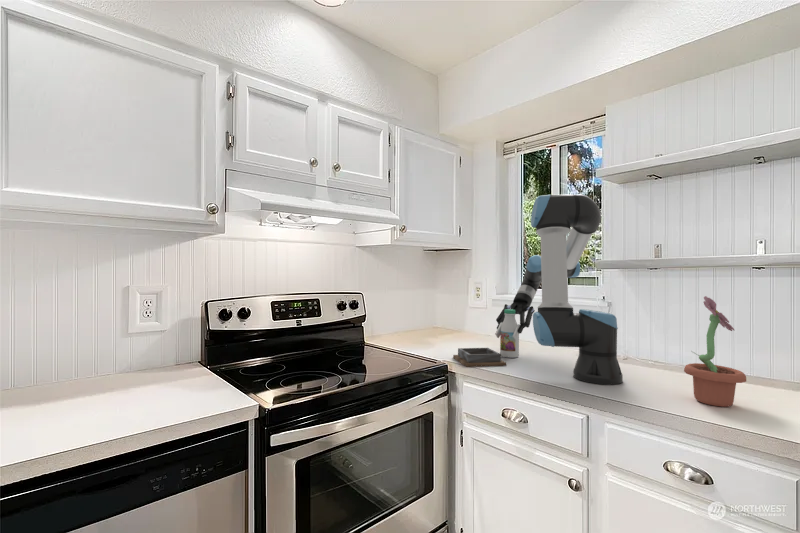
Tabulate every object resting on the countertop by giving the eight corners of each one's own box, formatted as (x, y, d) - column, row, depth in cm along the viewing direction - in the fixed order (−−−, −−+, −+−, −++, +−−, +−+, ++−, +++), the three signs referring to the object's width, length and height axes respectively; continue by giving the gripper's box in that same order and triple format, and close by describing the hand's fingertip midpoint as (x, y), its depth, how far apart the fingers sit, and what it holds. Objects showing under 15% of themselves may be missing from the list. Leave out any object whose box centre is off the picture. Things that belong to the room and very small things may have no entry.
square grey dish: (506, 365, 155) (506, 354, 155) (466, 366, 153) (466, 355, 153) (489, 356, 171) (489, 346, 171) (453, 357, 168) (453, 347, 168)
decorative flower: (753, 416, 103) (754, 299, 104) (687, 406, 110) (688, 296, 110) (739, 400, 116) (739, 296, 117) (681, 392, 123) (681, 294, 123)
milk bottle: (507, 353, 178) (507, 308, 178) (522, 356, 172) (522, 309, 172) (496, 355, 173) (496, 309, 173) (511, 359, 167) (512, 310, 168)
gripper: (548, 304, 177) (531, 346, 165) (507, 301, 191) (488, 339, 179) (543, 292, 173) (524, 334, 161) (501, 290, 187) (481, 328, 176)
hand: (505, 337), depth 170 cm, fingers closed on milk bottle, 7 cm apart
